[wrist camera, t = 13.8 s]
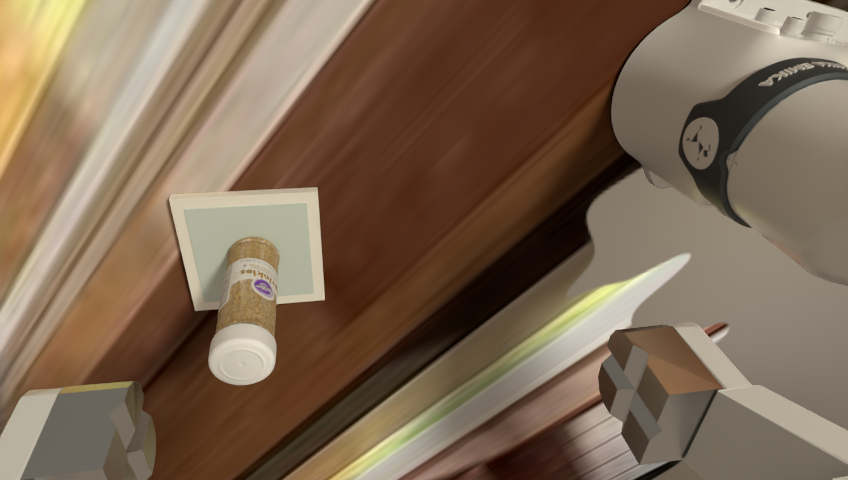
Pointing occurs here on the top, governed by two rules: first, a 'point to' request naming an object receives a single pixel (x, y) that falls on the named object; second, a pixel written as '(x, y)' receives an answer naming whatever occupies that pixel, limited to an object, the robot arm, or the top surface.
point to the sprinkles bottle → (247, 314)
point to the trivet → (250, 217)
